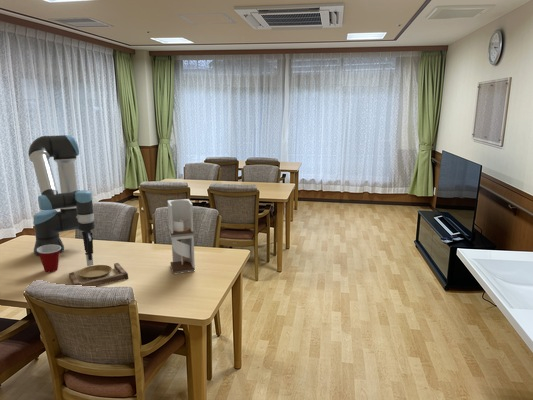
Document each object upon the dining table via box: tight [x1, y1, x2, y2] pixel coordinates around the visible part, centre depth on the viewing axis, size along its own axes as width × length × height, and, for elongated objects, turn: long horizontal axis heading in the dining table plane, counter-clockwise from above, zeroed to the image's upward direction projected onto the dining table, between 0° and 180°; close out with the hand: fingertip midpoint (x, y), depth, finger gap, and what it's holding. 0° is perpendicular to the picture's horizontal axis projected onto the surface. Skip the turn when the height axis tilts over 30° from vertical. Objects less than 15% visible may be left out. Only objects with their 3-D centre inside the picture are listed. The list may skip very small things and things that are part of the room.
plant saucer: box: [78, 264, 112, 281], centre depth 192 cm, size 15×15×3 cm
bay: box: [68, 262, 129, 287], centre depth 188 cm, size 16×23×2 cm
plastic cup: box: [36, 245, 61, 273], centre depth 196 cm, size 11×11×12 cm
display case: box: [167, 198, 196, 275], centre depth 197 cm, size 11×11×35 cm
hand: (90, 265), depth 202 cm, fingers closed
